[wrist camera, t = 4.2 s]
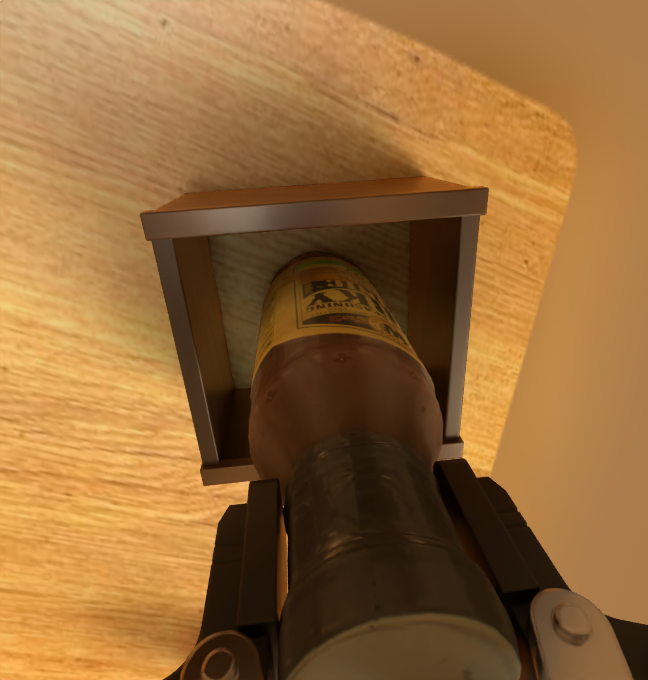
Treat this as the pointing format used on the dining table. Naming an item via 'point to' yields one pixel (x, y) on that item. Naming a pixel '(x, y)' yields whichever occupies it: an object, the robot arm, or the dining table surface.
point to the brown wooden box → (302, 213)
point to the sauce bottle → (363, 493)
